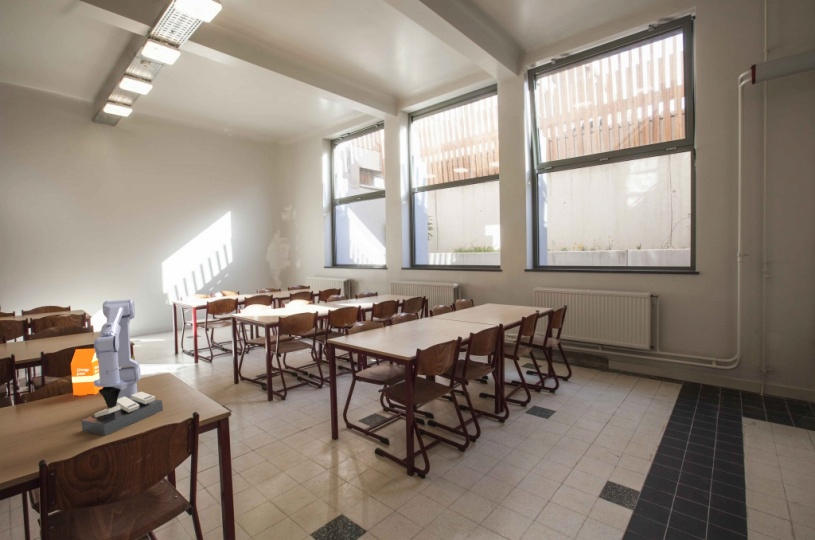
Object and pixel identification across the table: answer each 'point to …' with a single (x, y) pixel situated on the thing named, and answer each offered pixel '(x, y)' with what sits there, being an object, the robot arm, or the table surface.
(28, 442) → the table surface
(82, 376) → the orange juice
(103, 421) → the grey slab
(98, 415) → the rocker
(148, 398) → the white rectangular block
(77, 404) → the table surface
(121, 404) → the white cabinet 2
